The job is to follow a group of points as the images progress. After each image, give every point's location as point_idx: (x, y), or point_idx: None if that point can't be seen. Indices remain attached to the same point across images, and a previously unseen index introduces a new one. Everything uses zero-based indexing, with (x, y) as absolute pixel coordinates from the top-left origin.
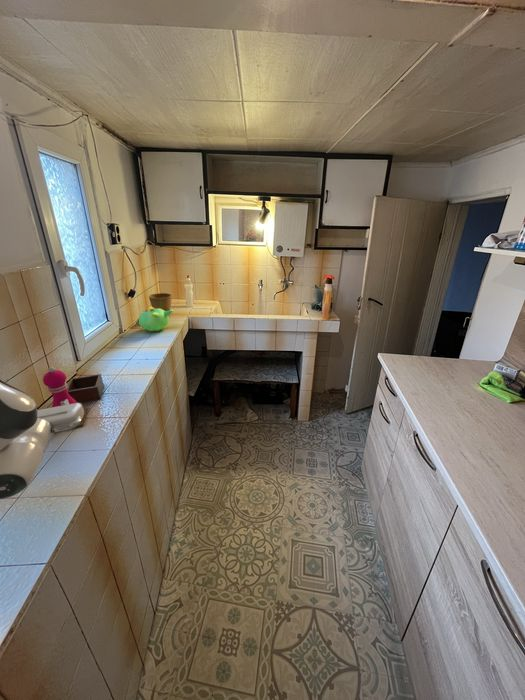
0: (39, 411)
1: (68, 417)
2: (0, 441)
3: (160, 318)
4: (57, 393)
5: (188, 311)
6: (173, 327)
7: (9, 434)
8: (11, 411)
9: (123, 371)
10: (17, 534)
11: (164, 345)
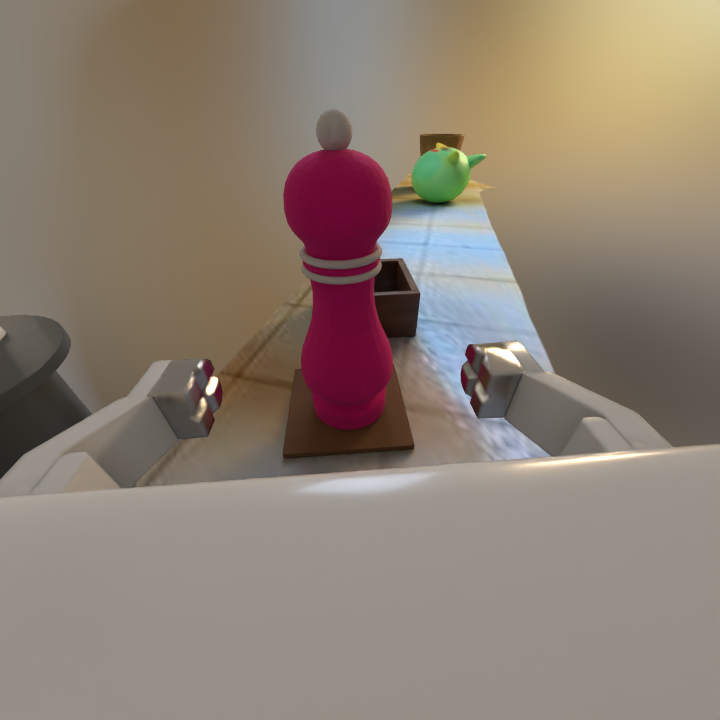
0: (375, 538)
1: None
2: None
3: (462, 169)
4: (344, 290)
5: (475, 182)
6: (470, 200)
7: None
8: None
9: (428, 267)
10: None
11: (482, 225)
